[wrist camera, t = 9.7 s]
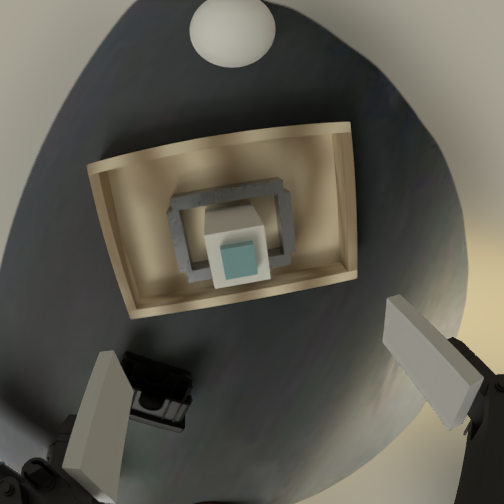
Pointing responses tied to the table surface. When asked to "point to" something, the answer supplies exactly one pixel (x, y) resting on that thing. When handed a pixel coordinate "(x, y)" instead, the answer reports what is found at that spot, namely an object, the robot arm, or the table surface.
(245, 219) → the white block teal patch
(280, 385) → the table surface
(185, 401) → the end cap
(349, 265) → the birch box
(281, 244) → the grey rectangular frame
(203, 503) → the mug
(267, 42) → the lightbulb
